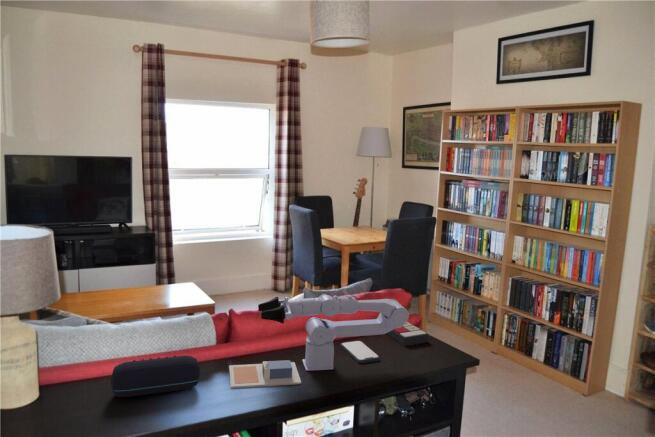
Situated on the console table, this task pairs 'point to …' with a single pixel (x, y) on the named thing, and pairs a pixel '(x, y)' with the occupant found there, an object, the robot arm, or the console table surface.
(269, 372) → the card deck
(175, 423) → the console table surface
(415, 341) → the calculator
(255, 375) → the mat
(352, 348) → the phone case
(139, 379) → the portable speaker
